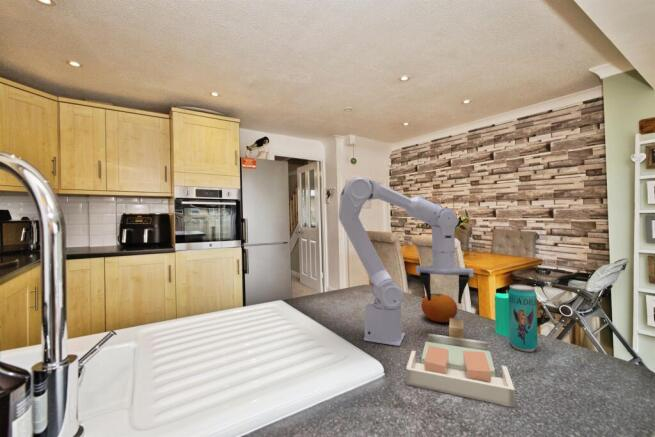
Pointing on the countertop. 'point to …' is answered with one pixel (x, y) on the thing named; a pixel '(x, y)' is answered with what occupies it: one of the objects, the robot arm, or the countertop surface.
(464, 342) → the scraper
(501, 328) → the candle
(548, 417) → the countertop surface
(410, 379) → the tray
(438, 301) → the fruit
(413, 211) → the robot arm
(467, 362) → the tile right
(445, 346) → the board
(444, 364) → the tile left
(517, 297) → the beverage can
